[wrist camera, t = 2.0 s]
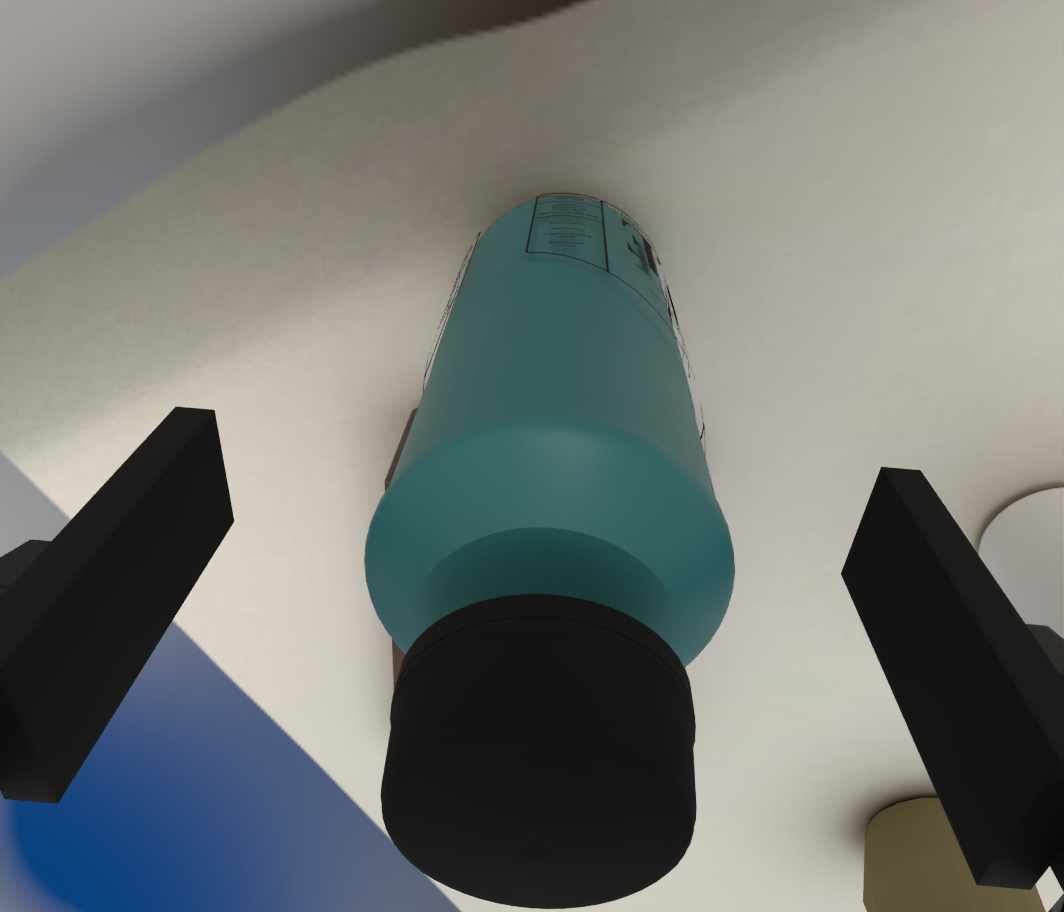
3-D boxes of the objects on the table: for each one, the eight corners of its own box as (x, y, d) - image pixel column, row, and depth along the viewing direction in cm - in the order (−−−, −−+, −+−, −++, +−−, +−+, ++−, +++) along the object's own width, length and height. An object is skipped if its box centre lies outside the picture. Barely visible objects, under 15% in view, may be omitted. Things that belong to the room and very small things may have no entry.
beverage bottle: (429, 279, 26) (152, 842, 9) (561, 125, 23) (500, 542, 7) (567, 395, 28) (543, 1023, 12) (704, 267, 25) (937, 858, 9)
